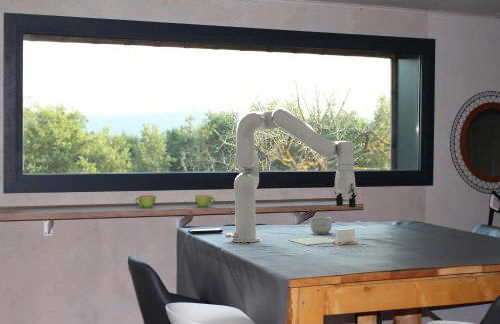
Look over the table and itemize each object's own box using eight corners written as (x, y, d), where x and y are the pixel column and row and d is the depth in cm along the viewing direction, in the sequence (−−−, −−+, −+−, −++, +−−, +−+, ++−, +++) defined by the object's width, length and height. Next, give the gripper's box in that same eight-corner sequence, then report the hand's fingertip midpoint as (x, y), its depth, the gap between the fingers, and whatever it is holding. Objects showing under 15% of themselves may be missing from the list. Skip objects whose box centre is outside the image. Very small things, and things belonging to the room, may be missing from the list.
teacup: (324, 235, 328) (324, 219, 328) (305, 233, 335) (305, 217, 335) (338, 232, 339) (338, 216, 339) (320, 230, 346) (320, 215, 346)
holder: (338, 244, 298) (338, 242, 298) (332, 243, 302) (332, 241, 302) (357, 243, 302) (357, 241, 302) (351, 242, 306) (351, 239, 306)
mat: (306, 245, 298) (306, 244, 298) (287, 240, 312) (287, 239, 312) (340, 242, 306) (339, 241, 306) (320, 237, 320) (320, 237, 320)
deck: (338, 244, 299) (338, 230, 299) (335, 244, 301) (335, 229, 301) (354, 243, 303) (354, 228, 303) (352, 242, 305) (352, 228, 305)
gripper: (327, 168, 307) (328, 205, 308) (349, 169, 292) (350, 208, 292) (341, 167, 311) (341, 204, 311) (363, 168, 295) (364, 207, 296)
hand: (345, 206), depth 302 cm, fingers open, 9 cm apart
